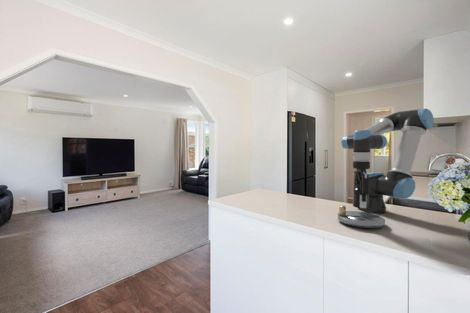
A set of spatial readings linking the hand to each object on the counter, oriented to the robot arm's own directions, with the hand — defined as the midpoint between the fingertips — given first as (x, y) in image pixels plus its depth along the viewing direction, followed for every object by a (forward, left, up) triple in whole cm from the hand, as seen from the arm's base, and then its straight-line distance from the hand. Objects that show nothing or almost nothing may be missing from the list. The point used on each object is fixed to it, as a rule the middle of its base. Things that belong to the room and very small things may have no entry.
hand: (360, 205), depth 114 cm
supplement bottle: (0, 0, -1) cm, 1 cm away
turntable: (0, 0, -8) cm, 8 cm away
